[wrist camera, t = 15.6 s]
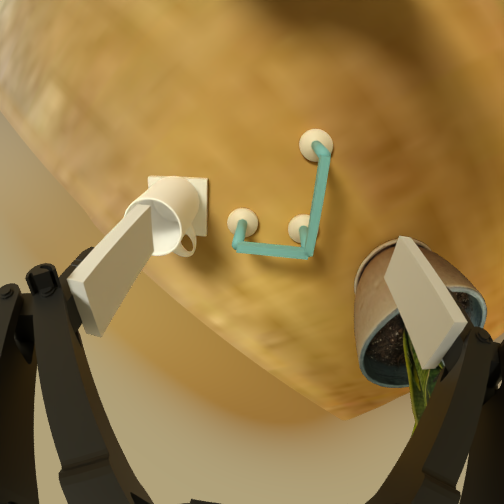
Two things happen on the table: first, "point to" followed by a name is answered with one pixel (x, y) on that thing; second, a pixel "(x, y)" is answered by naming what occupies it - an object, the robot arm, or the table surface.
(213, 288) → the table surface
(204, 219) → the coaster
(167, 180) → the mug
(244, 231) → the wire course
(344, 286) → the table surface
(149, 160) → the table surface
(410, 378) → the potted plant
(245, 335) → the table surface
